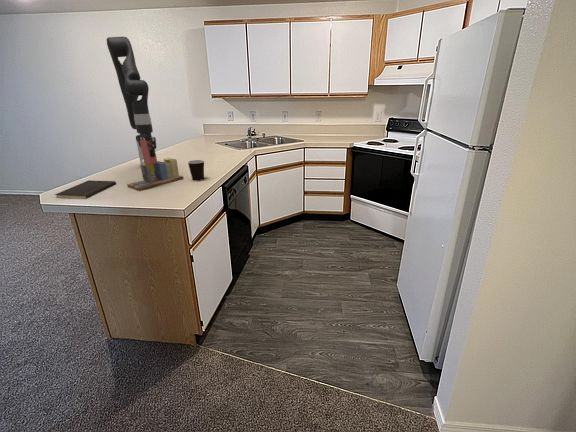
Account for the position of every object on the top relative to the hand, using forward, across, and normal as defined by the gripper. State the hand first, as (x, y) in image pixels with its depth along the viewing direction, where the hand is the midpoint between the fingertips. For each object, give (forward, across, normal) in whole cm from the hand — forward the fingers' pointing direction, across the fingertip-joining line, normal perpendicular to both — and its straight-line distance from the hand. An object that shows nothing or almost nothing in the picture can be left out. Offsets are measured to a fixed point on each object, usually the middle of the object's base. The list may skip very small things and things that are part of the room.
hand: (149, 156), depth 162 cm
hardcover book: (+16, -17, -27) cm, 36 cm away
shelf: (+15, 0, +1) cm, 15 cm away
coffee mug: (+15, +12, +21) cm, 28 cm away
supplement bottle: (+15, -14, +6) cm, 22 cm away
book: (+4, 0, 0) cm, 4 cm away
